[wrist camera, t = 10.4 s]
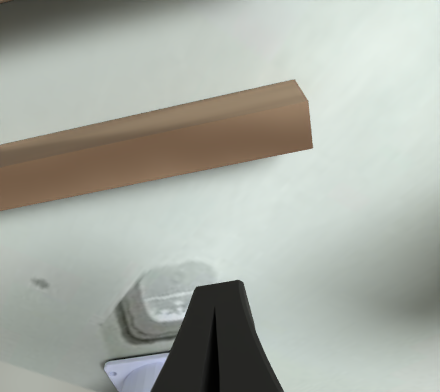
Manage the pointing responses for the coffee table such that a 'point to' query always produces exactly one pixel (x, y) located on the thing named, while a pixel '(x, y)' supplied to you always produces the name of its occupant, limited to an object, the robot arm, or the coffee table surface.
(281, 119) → the walnut chute
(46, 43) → the coffee table surface
